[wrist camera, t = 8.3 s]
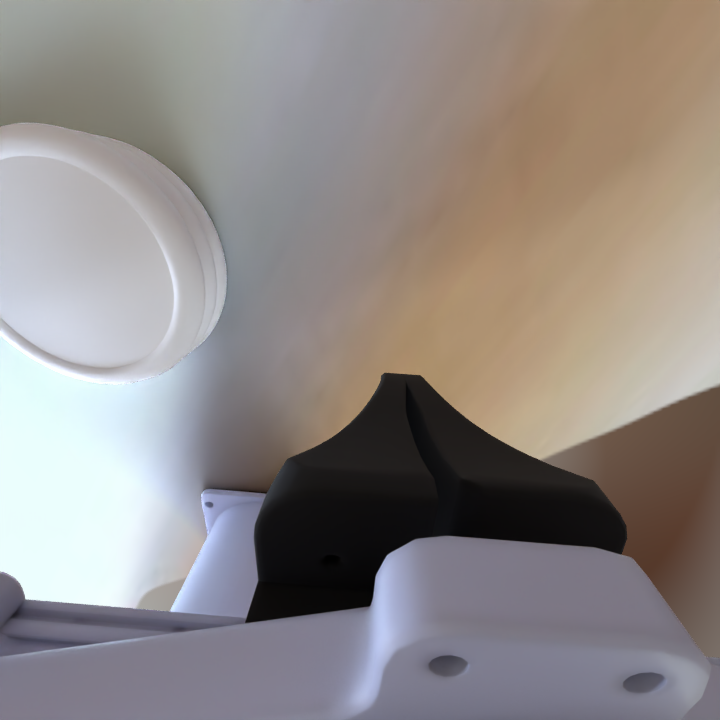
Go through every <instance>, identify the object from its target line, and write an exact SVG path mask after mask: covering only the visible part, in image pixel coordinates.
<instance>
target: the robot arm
mask: <svg viewBox="0 0 720 720" xmlns="http://www.w3.org/2000/svg"><path fill="white" fill-rule="evenodd" d="M201 501H202V506H203V512H204V517H205V523H206V528H207V534H208V537H207V539H206V541H205V543H204V545H203V547H202V549H201V551H200V553H199V555H198V557H197V559H196V561H195V563H194V565H193V567H192V569H191V571H190V573H189V575H188V577H187V579H186V581H185V583H184V585H183V586H182V588H181V590H180V592H179V594H178V596H177V598H176V600H175V602H174V604H173V606H172V608H171V610H170V612H169V611H157V610H145V609H133V608H121V607H110V606H98V605H86V604H74V603H62V602H50V601H38V600H26V599H25V595H24V592H23V589H22V587H21V585H20V583H19V582H18V581H17V580H16V579H15V578H14V577H12V576H11V575H9V574H7V573H4V572H0V720H720V658H715V657H705V656H704V654H703V653H702V651H701V650H700V649H699V647H698V646H697V645H696V643H695V642H694V640H693V639H692V637H691V636H690V635H689V633H688V632H687V631H686V629H685V628H684V626H683V625H682V624H681V622H680V621H679V619H678V618H677V617H676V615H675V614H674V613H673V611H672V610H671V608H670V607H669V606H668V604H667V603H666V601H665V600H664V599H663V597H662V596H661V594H660V593H659V592H658V590H657V589H656V587H655V586H654V585H653V583H652V582H651V581H650V579H649V578H648V576H647V575H646V574H645V573H644V571H643V570H642V569H641V568H640V567H639V566H638V565H637V563H636V562H635V561H634V560H633V558H631V557H627V556H623V555H621V554H622V551H623V549H624V546H625V543H626V540H627V531H626V525H625V523H624V521H623V519H622V517H621V515H620V513H619V512H618V511H617V510H616V508H615V507H614V506H613V504H612V503H611V502H610V501H609V499H608V498H607V497H606V495H605V494H604V493H603V492H602V490H601V489H600V488H599V486H598V485H597V484H596V483H595V482H594V481H593V480H590V479H588V478H585V477H582V476H579V475H576V474H574V473H571V472H568V471H565V470H562V469H560V468H557V467H554V466H552V465H549V464H547V463H545V462H542V461H540V460H538V459H536V458H533V457H531V456H529V455H527V454H525V453H523V452H521V451H519V450H517V449H515V448H513V447H511V446H509V445H507V444H505V443H504V442H502V441H500V440H498V439H496V438H495V437H493V436H491V435H490V434H488V433H487V432H485V431H484V430H482V429H481V428H479V427H478V426H476V425H475V424H473V423H472V422H471V421H469V420H468V419H467V418H465V417H464V416H463V415H462V414H460V413H459V412H458V411H457V410H456V409H454V408H453V407H452V406H451V405H450V404H449V403H448V402H447V401H445V400H444V399H443V398H442V397H441V396H440V395H439V394H438V393H437V392H436V391H435V390H434V389H433V388H432V387H431V386H430V385H429V384H428V382H427V381H426V380H425V379H424V378H423V377H422V376H421V375H408V374H394V373H384V374H383V375H381V381H380V384H379V386H378V388H377V390H376V391H375V393H374V395H373V396H372V398H371V399H370V401H369V402H368V403H367V405H366V406H365V407H364V409H363V410H362V411H361V412H360V413H359V414H358V416H357V417H356V418H355V419H354V420H353V421H352V422H351V423H350V424H348V425H347V426H346V427H345V428H344V429H342V430H341V431H340V432H339V433H337V434H336V435H335V436H333V437H332V438H330V439H329V440H327V441H325V442H323V443H322V444H320V445H318V446H316V447H314V448H312V449H310V450H307V451H305V452H303V453H300V454H298V455H295V456H293V457H290V458H288V459H287V460H286V462H285V463H284V465H283V466H282V468H281V469H280V471H279V473H278V474H277V476H276V478H275V479H274V481H273V483H272V485H271V486H270V488H269V490H268V492H267V494H264V493H253V492H241V491H230V490H218V489H206V490H204V492H203V493H202V495H201Z"/></svg>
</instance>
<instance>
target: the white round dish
mask: <svg viewBox="0 0 720 720" xmlns="http://www.w3.org/2000/svg"><path fill="white" fill-rule="evenodd" d="M226 290H227V270H226V262H225V257H224V251H223V248H222V245H221V242H220V239H219V236H218V234H217V231H216V229H215V227H214V225H213V223H212V220H211V219H210V217H209V215H208V214H207V212H206V210H205V208H204V207H203V205H202V204H201V203H200V201H199V200H198V199H197V197H196V196H195V195H194V193H193V192H192V191H191V190H190V189H189V187H188V186H187V185H186V184H185V183H184V182H183V181H182V180H181V179H180V178H179V177H178V176H177V175H175V174H174V173H173V172H172V171H171V170H170V169H169V168H167V167H166V166H165V165H164V164H162V163H161V162H159V161H158V160H156V159H155V158H153V157H152V156H151V155H149V154H147V153H145V152H144V151H142V150H140V149H138V148H136V147H134V146H132V145H130V144H127V143H124V142H122V141H119V140H116V139H112V138H108V137H104V136H99V135H94V134H90V133H86V132H82V131H77V130H71V129H67V128H63V127H60V126H56V125H50V124H42V123H15V124H9V125H4V126H0V335H1V336H2V337H3V338H4V339H5V340H6V341H8V342H9V343H10V344H12V345H13V346H14V347H15V348H17V349H18V350H19V351H21V352H22V353H24V354H25V355H27V356H29V357H30V358H32V359H33V360H35V361H37V362H39V363H41V364H43V365H44V366H46V367H48V368H50V369H52V370H55V371H57V372H59V373H62V374H64V375H67V376H70V377H73V378H76V379H79V380H84V381H89V382H93V383H101V384H129V383H135V382H139V381H143V380H147V379H150V378H153V377H155V376H158V375H160V374H162V373H164V372H166V371H167V370H169V369H171V368H172V367H173V366H175V365H176V364H177V363H178V362H179V361H181V360H182V359H183V358H184V357H186V356H187V355H188V354H189V353H190V352H192V351H193V350H194V349H195V348H197V347H198V346H199V345H200V344H201V343H203V342H204V341H205V340H206V338H207V337H208V336H209V335H210V334H211V332H212V331H213V329H214V327H215V326H216V324H217V322H218V320H219V318H220V315H221V313H222V310H223V307H224V302H225V298H226Z"/></svg>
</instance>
